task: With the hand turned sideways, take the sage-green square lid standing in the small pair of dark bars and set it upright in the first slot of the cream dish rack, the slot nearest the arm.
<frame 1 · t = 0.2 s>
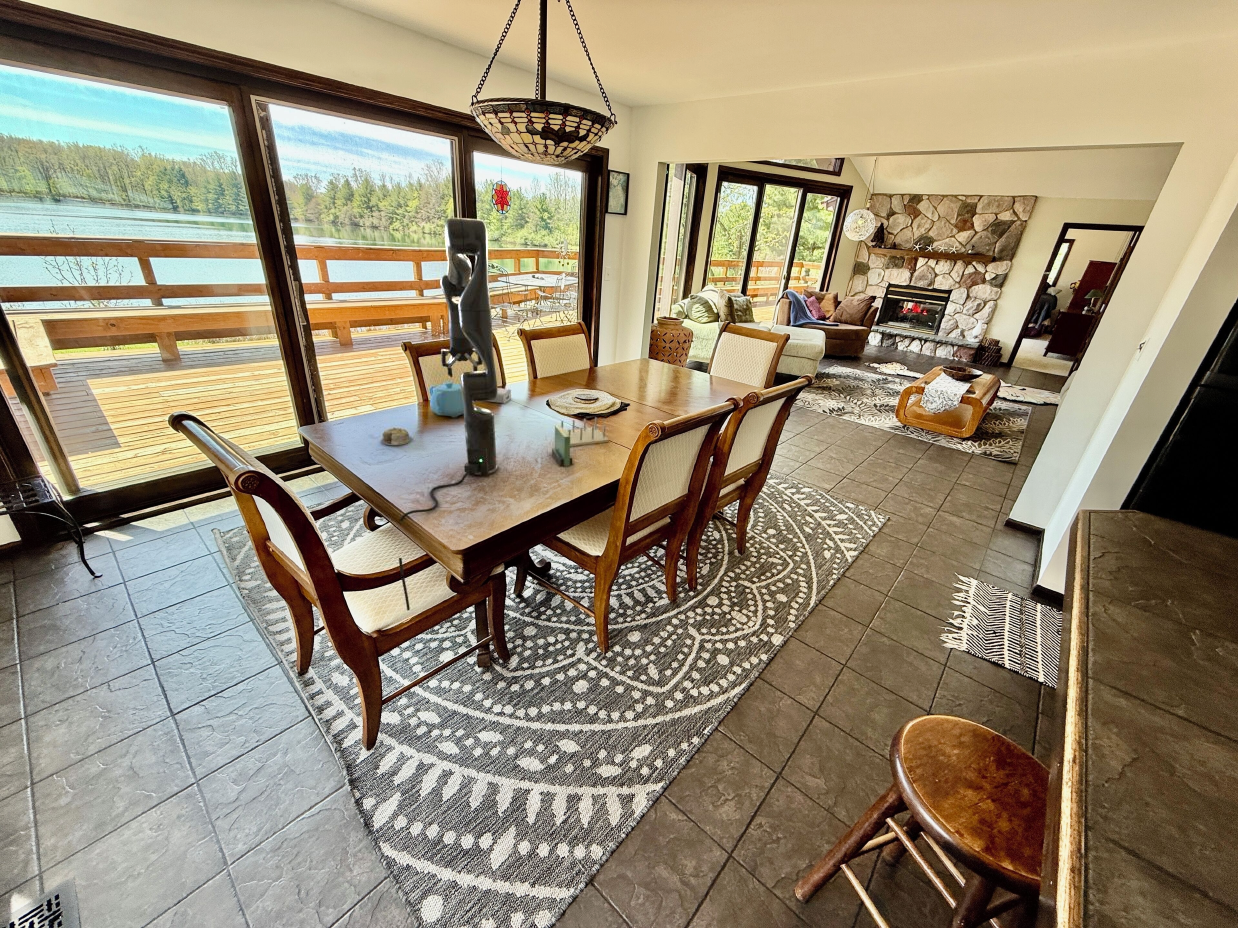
hand: (463, 375, 180), 22 cm above the table, tool pointing down, fingers open, 8 cm apart
cake: (396, 441, 177), on the table
decorative pot: (451, 413, 207), on the table
charger: (492, 399, 226), on the table
pair of dark bars: (562, 459, 171), on the table
dish rack: (582, 437, 191), on the table
lid: (562, 459, 171), resting in pair of dark bars
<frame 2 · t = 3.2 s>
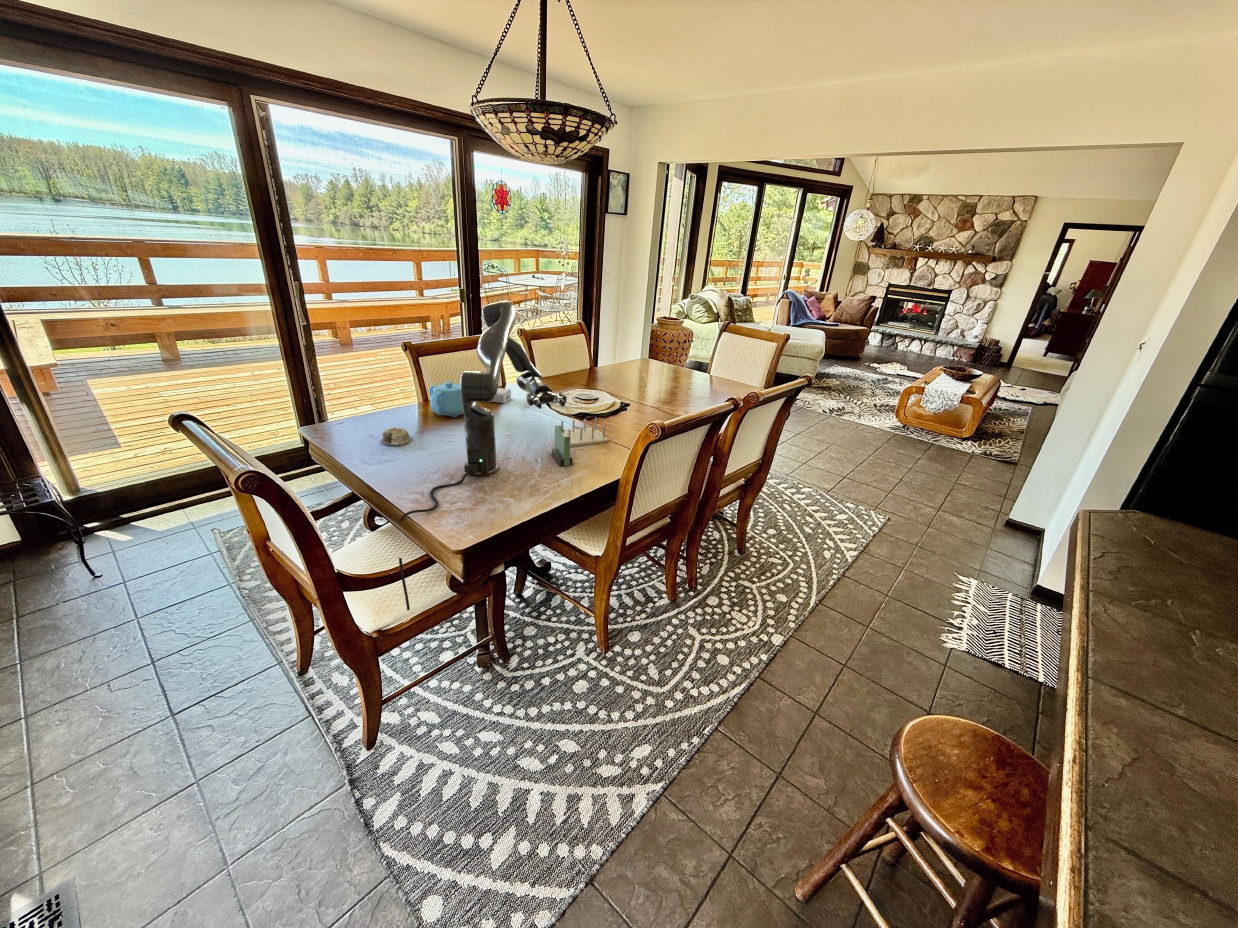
hand: (552, 405, 174), 16 cm above the table, tool horizontal, fingers open, 8 cm apart
nothing on the table moved.
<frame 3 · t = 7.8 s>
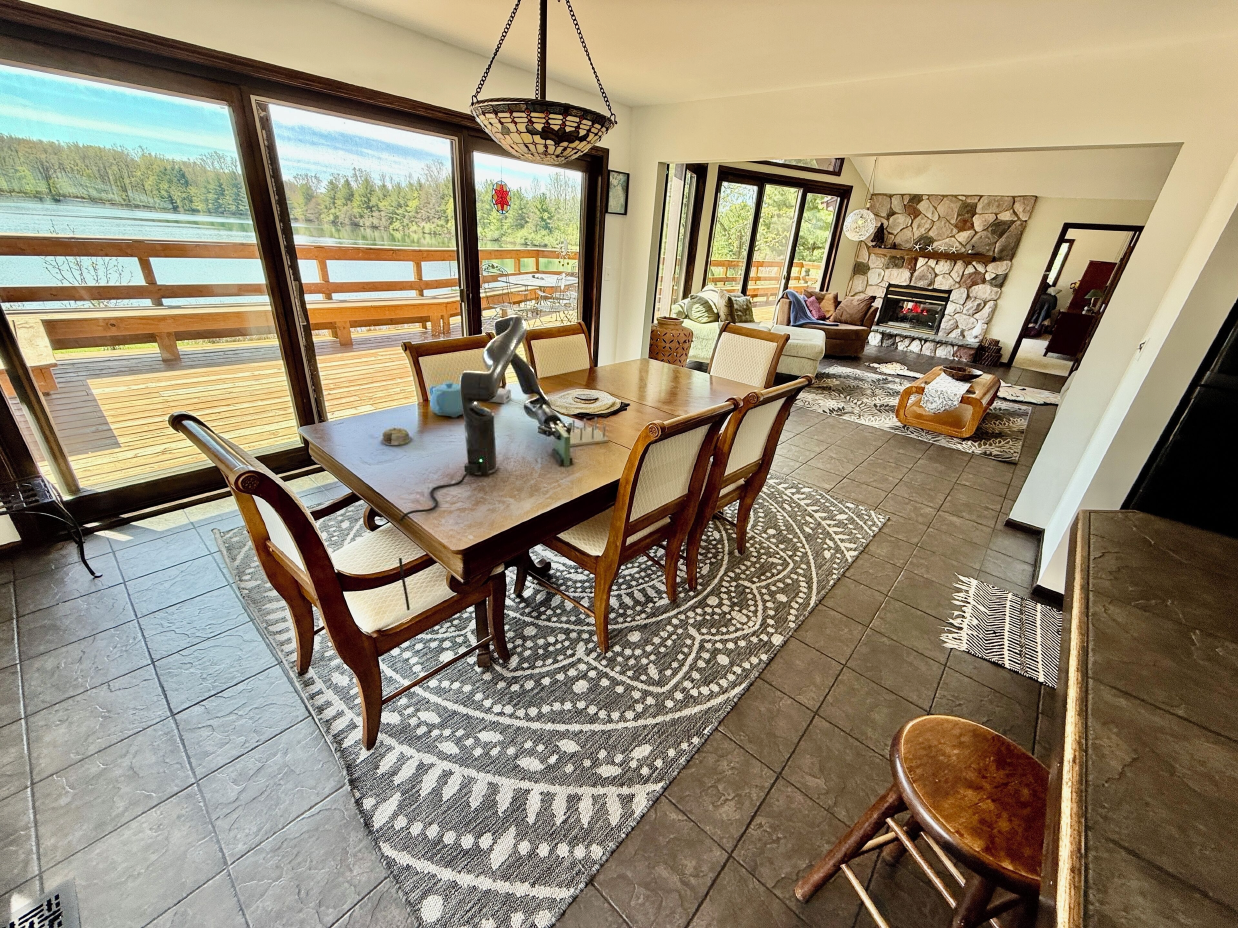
hand: (563, 437, 167), 9 cm above the table, tool horizontal, fingers closed on lid, 2 cm apart
lid: (561, 459, 171), resting in pair of dark bars, touching gripper
everything else where it was.
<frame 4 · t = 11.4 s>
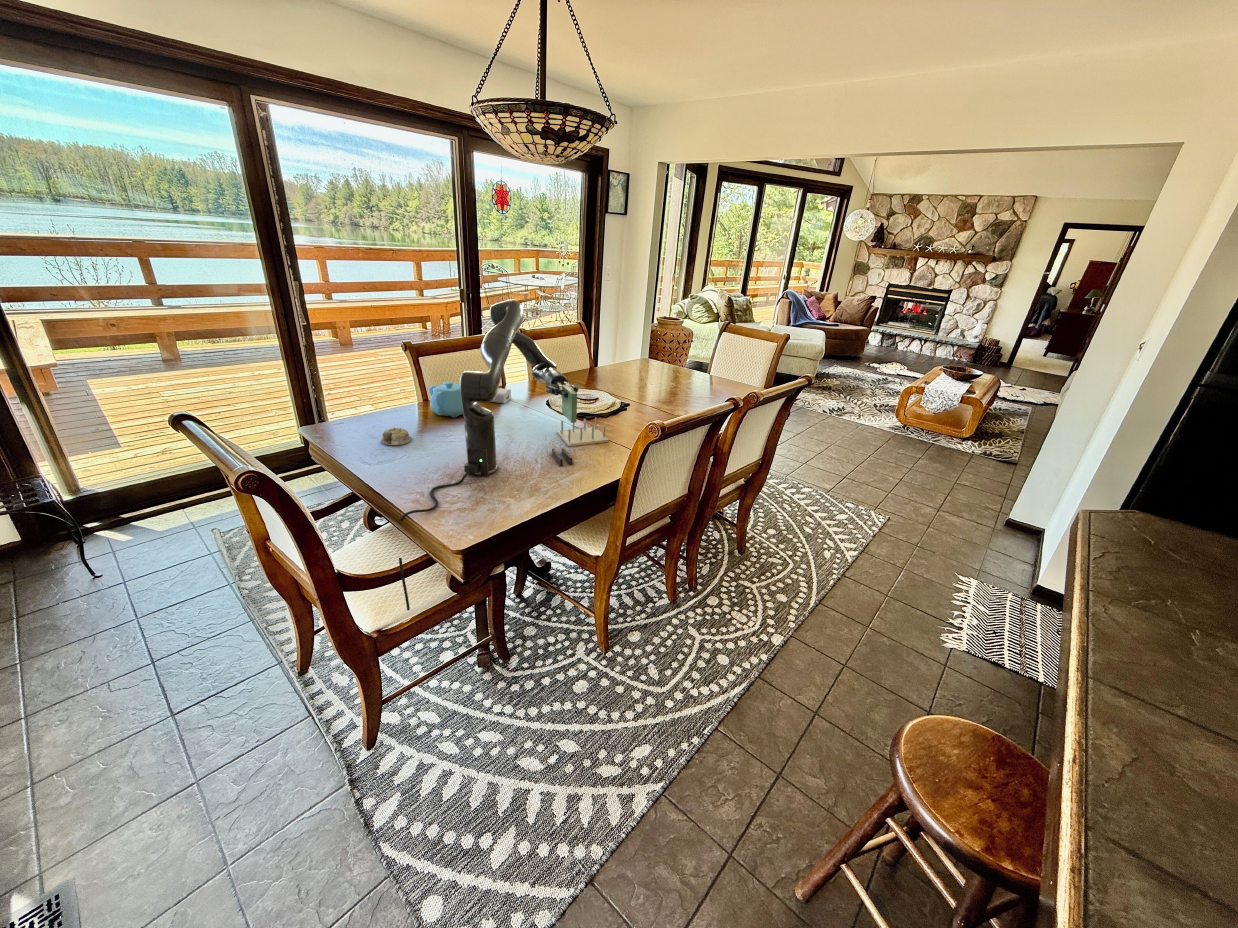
hand: (570, 395, 175), 20 cm above the table, tool horizontal, fingers closed on lid
lid: (569, 417, 179), point 11 cm above the table, touching gripper
everything else where it was.
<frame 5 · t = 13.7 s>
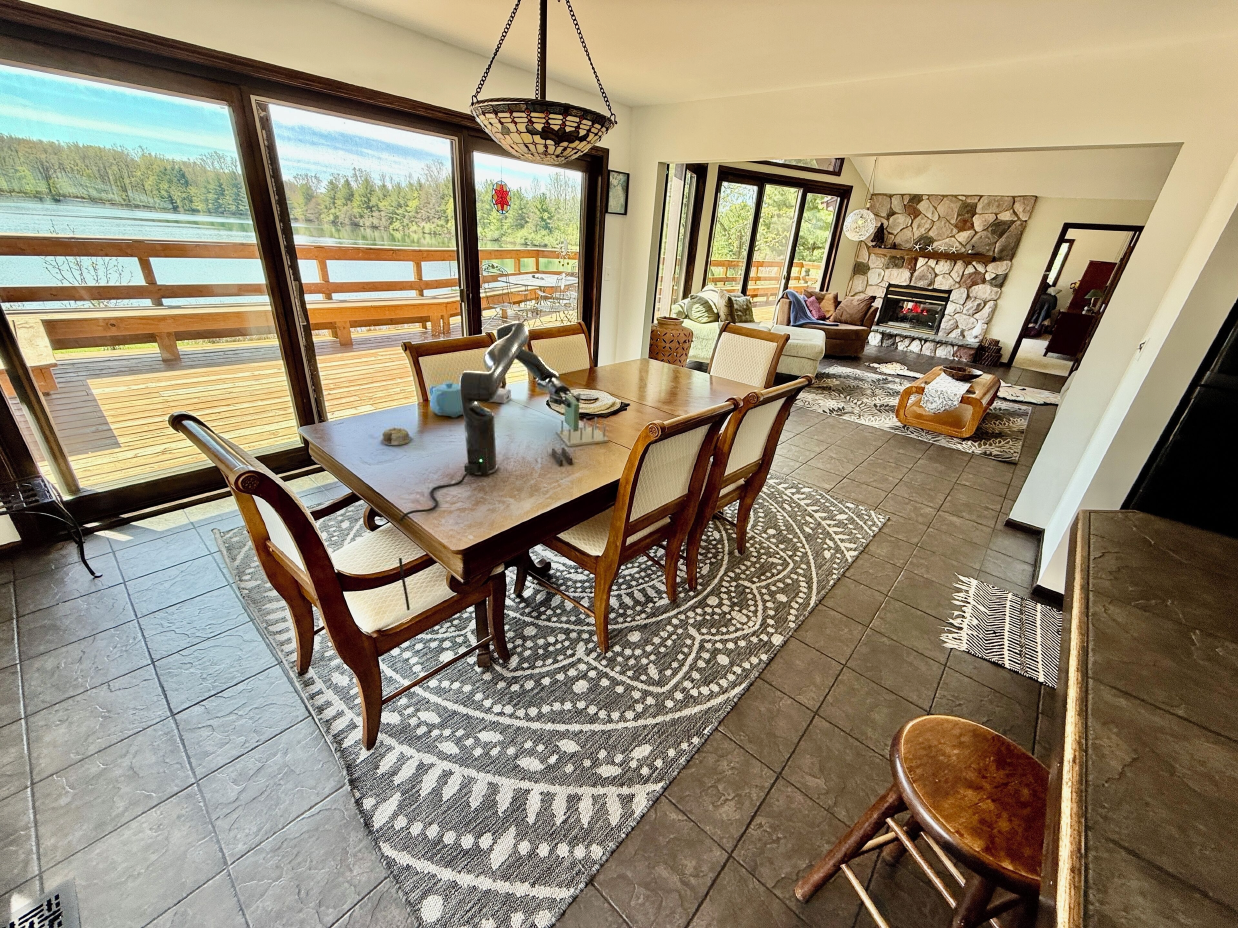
hand: (572, 405, 182), 14 cm above the table, tool horizontal, fingers closed on lid
lid: (571, 426, 187), point 5 cm above the table, touching gripper
everything else where it was.
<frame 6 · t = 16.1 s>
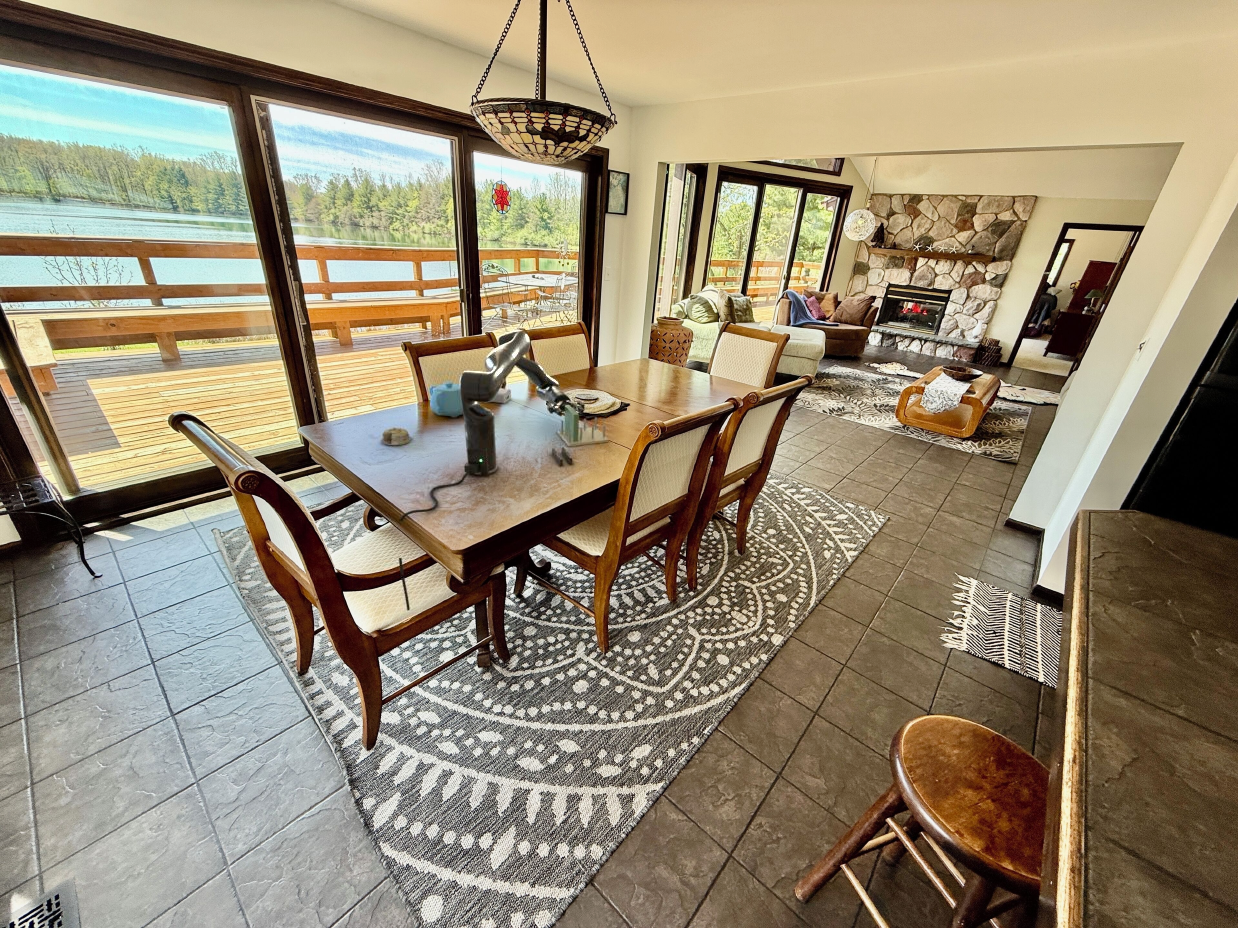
hand: (571, 413, 185), 11 cm above the table, tool horizontal, fingers open, 8 cm apart
lid: (571, 436, 189), point 1 cm above the table, touching dish rack
everything else where it was.
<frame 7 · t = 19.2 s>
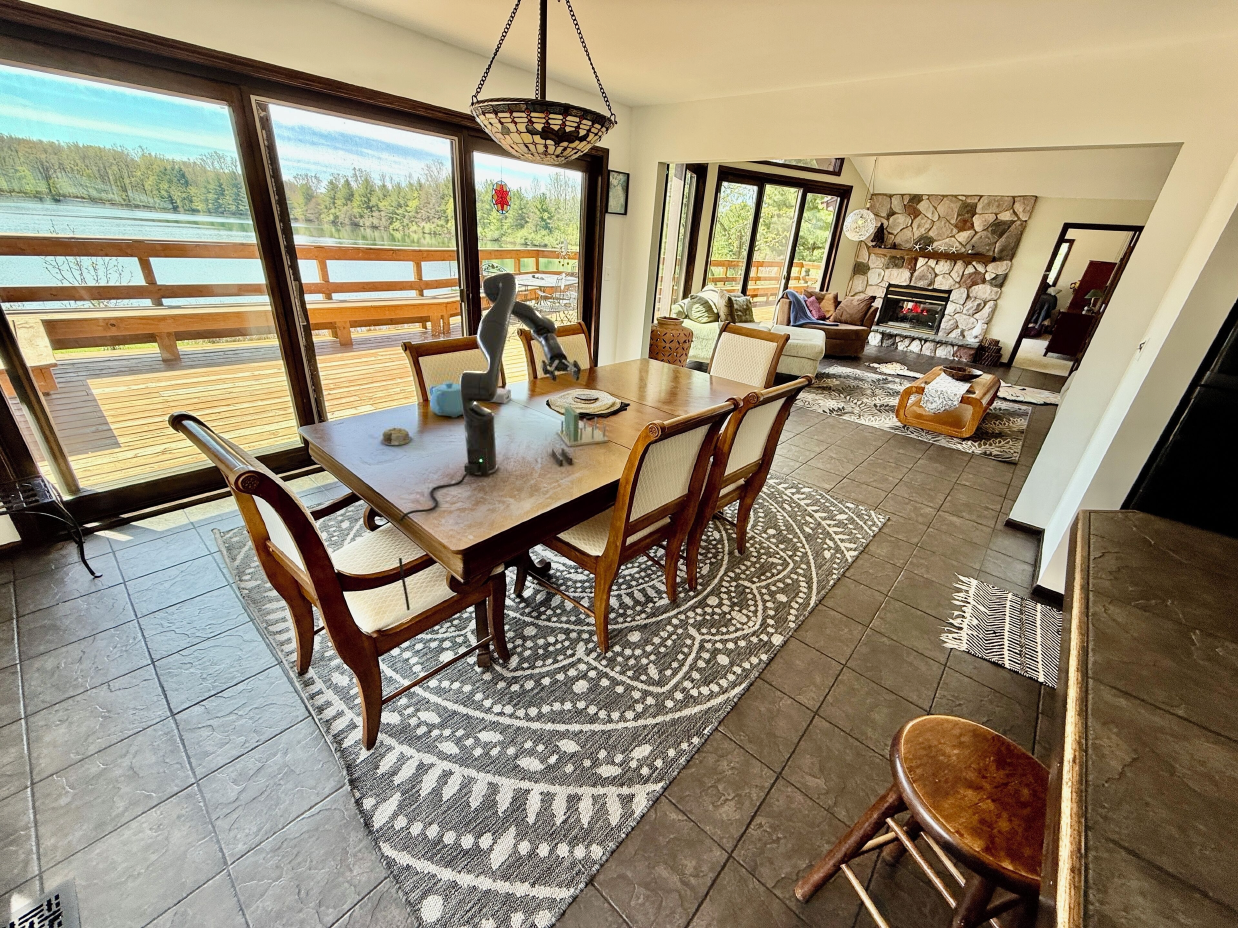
hand: (566, 379, 176), 25 cm above the table, tool tilted 70°, fingers open, 8 cm apart
nothing on the table moved.
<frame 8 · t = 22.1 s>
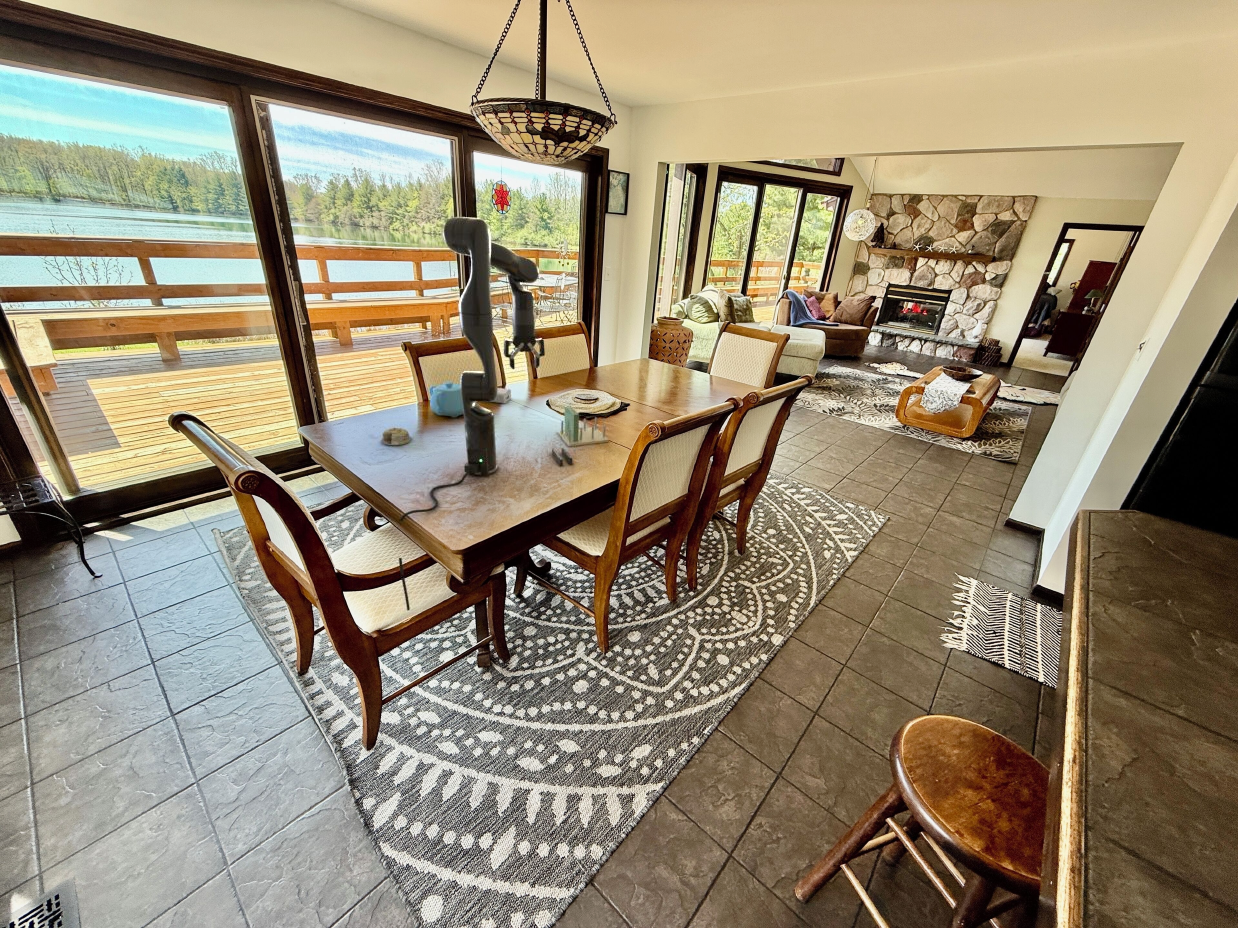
hand: (524, 368, 173), 28 cm above the table, tool pointing down, fingers open, 8 cm apart
nothing on the table moved.
at the end: lid 0.1 cm from the target spot on the dish rack, point 1.0 cm above the dish rack's base; lid tilted 0°; the gripper is holding nothing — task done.
